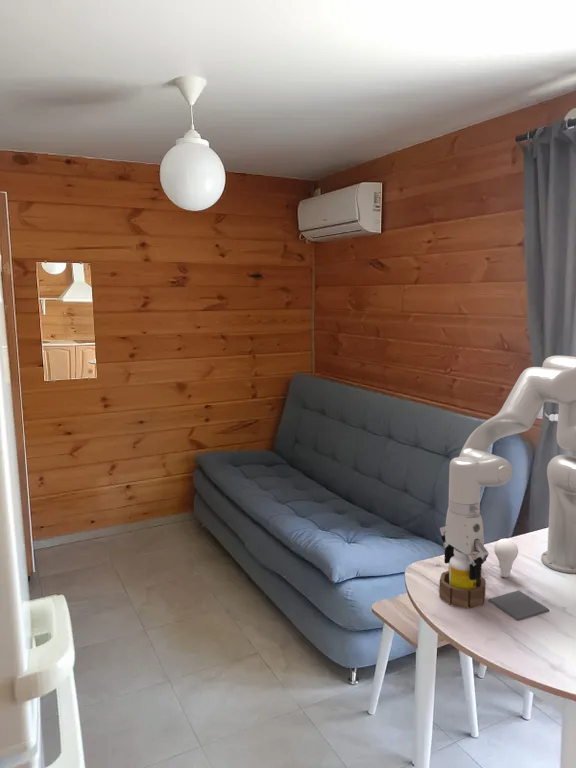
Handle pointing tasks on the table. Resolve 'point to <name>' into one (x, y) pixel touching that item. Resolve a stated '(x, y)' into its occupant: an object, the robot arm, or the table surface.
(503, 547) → the lightbulb
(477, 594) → the ring stand
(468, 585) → the supplement bottle
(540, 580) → the table surface
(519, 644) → the table surface
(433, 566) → the table surface
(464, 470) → the robot arm
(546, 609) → the mat
